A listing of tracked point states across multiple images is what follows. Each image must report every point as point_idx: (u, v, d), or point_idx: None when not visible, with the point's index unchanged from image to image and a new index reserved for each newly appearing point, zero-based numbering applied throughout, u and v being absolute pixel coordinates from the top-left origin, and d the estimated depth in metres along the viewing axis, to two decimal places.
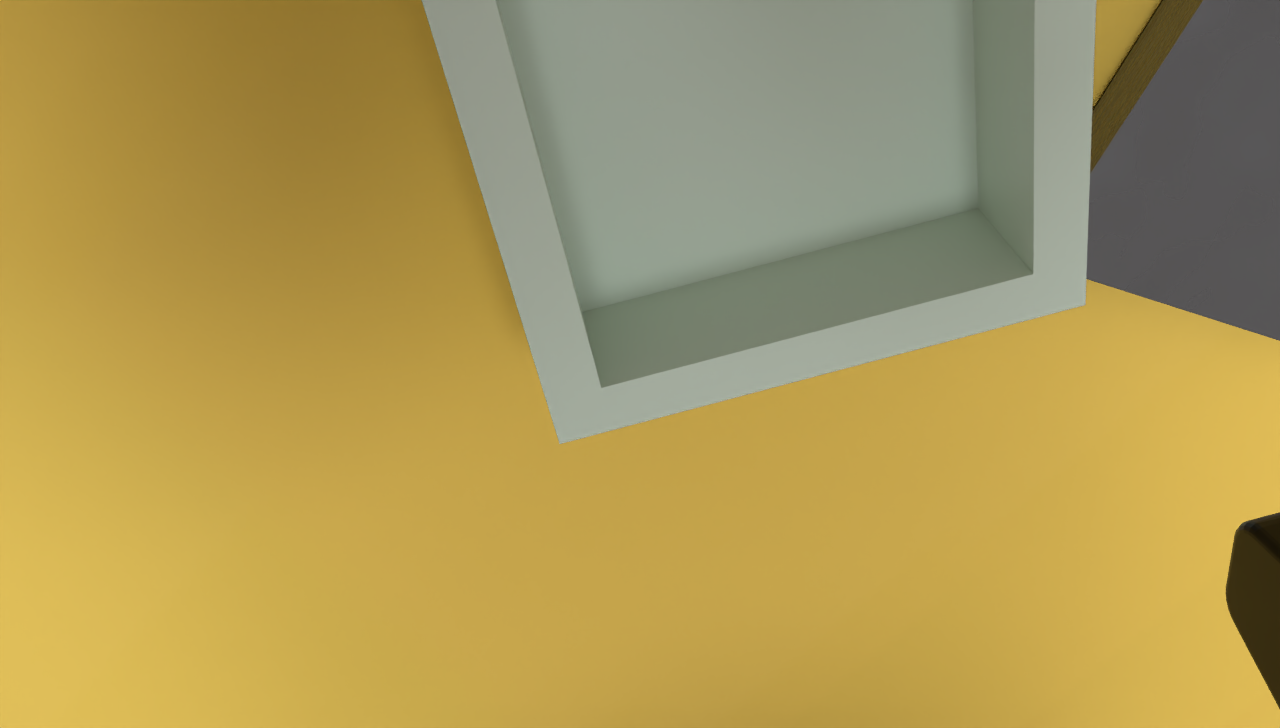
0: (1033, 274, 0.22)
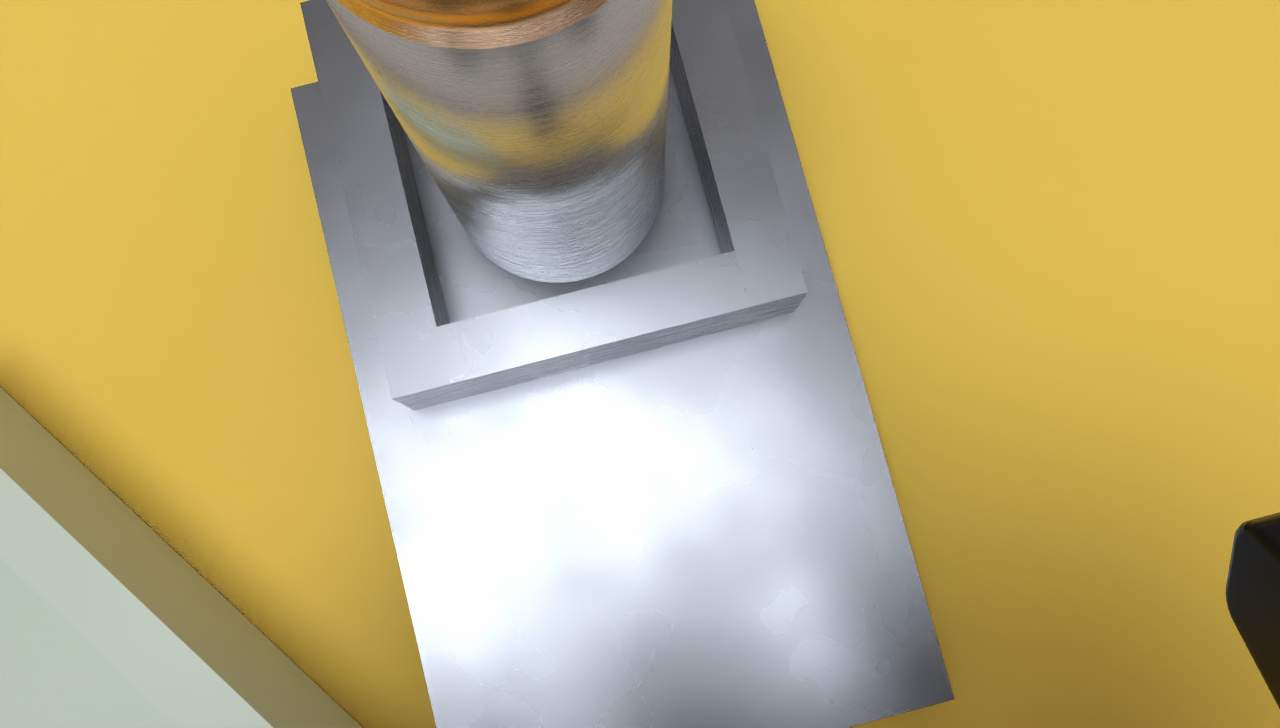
0: None
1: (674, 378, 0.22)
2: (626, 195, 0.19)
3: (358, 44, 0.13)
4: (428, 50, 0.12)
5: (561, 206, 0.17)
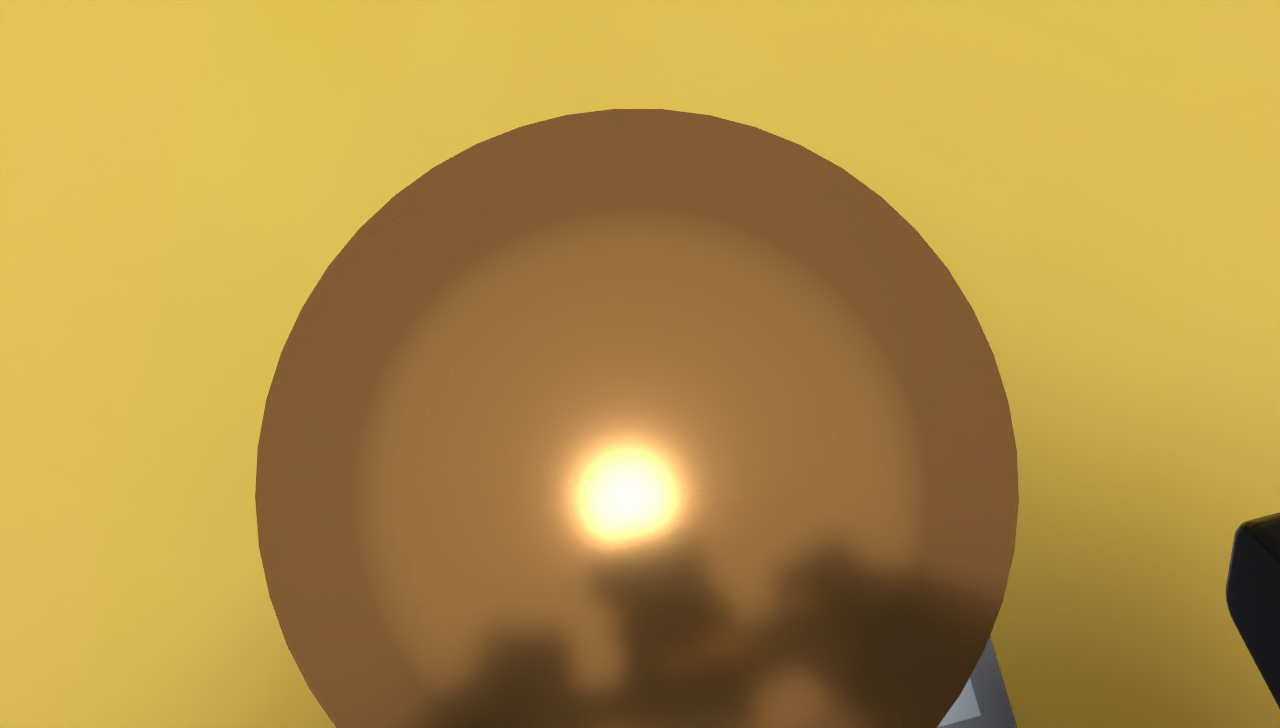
0: None
1: None
2: None
3: None
4: None
5: None
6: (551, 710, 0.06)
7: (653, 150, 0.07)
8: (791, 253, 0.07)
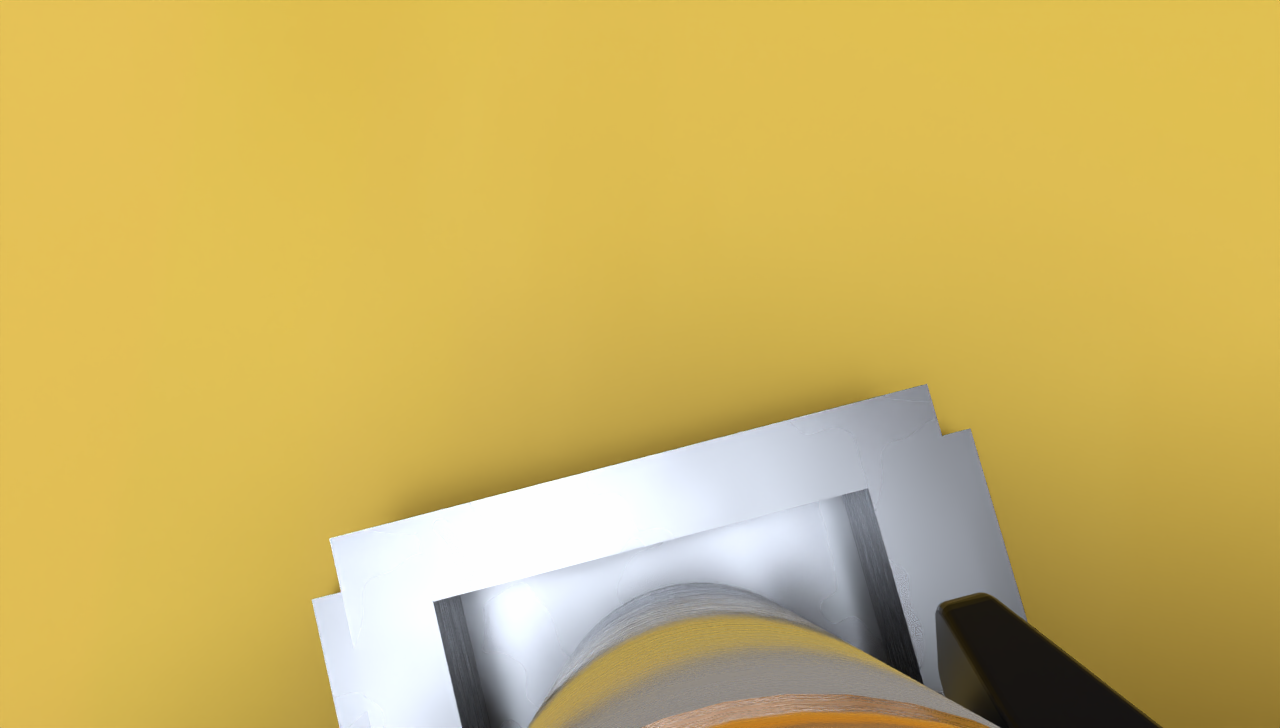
0: None
1: None
2: None
3: None
4: None
5: None
6: None
7: None
8: None
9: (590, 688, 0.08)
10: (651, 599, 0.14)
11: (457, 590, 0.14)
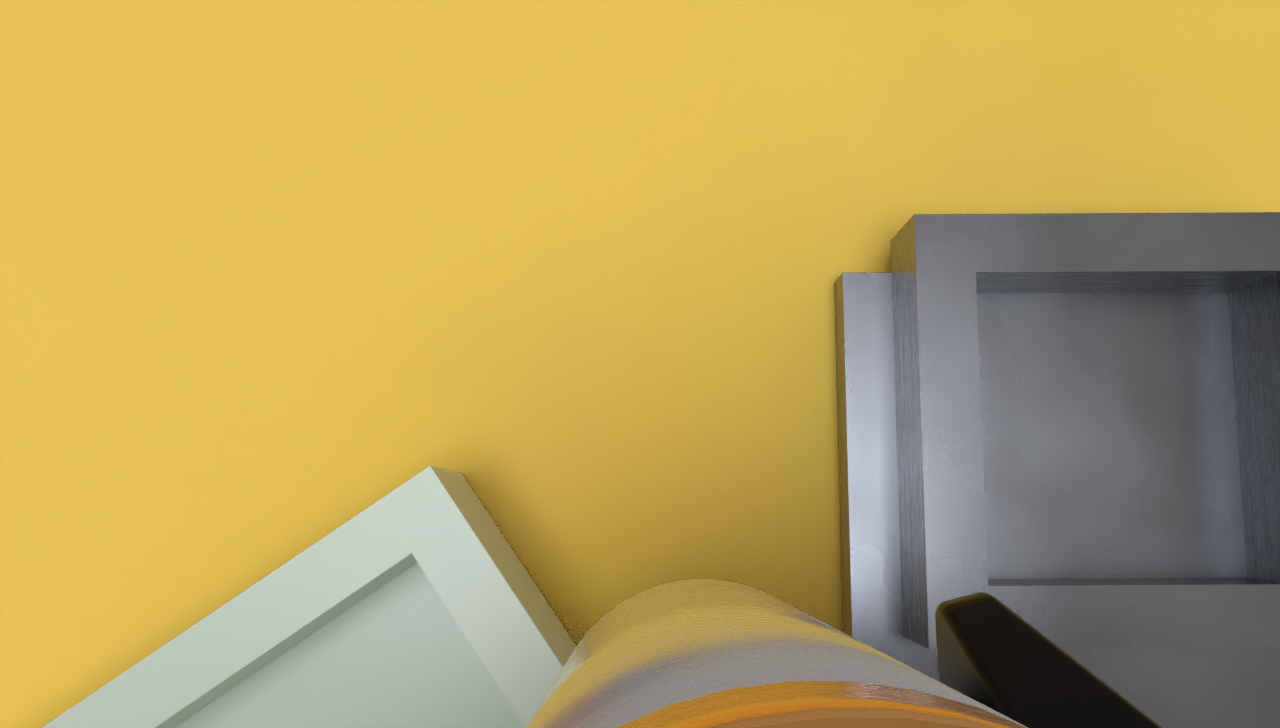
0: None
1: (1172, 670, 0.22)
2: None
3: None
4: None
5: None
6: None
7: None
8: None
9: (594, 679, 0.08)
10: (653, 594, 0.14)
11: (993, 269, 0.20)
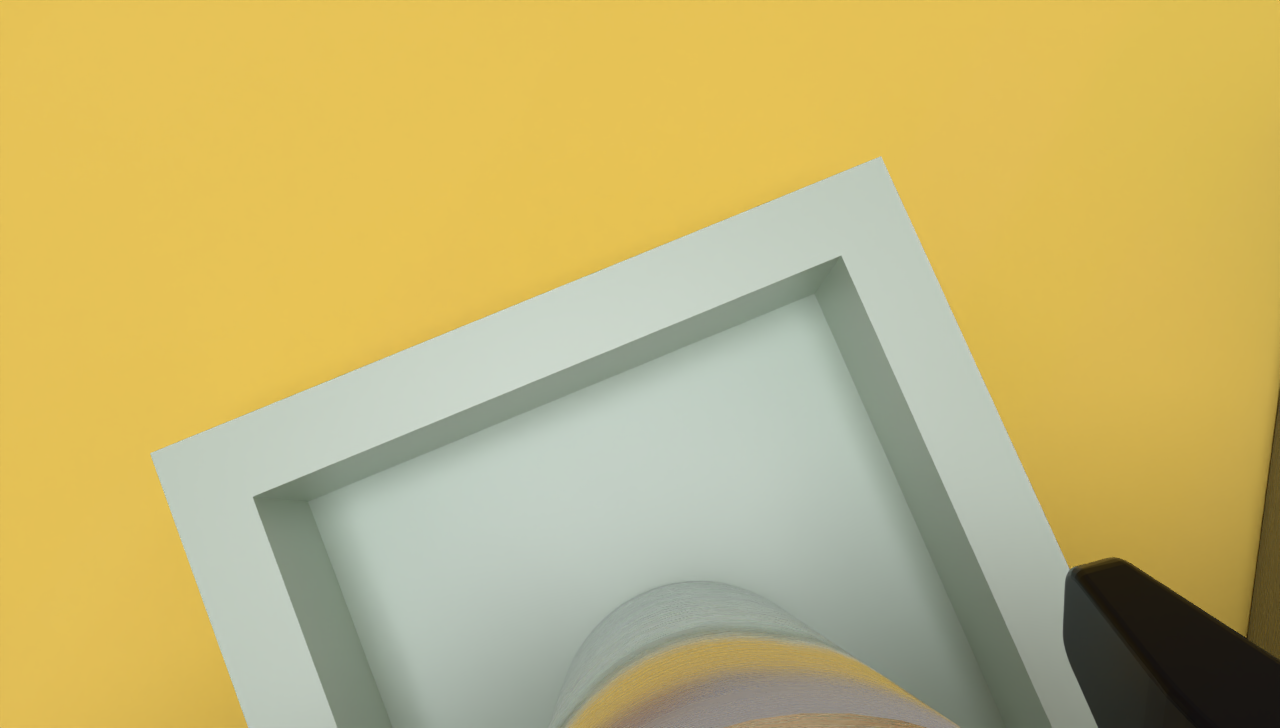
0: None
1: None
2: None
3: None
4: None
5: None
6: None
7: None
8: None
9: (624, 695, 0.09)
10: (656, 599, 0.15)
11: None
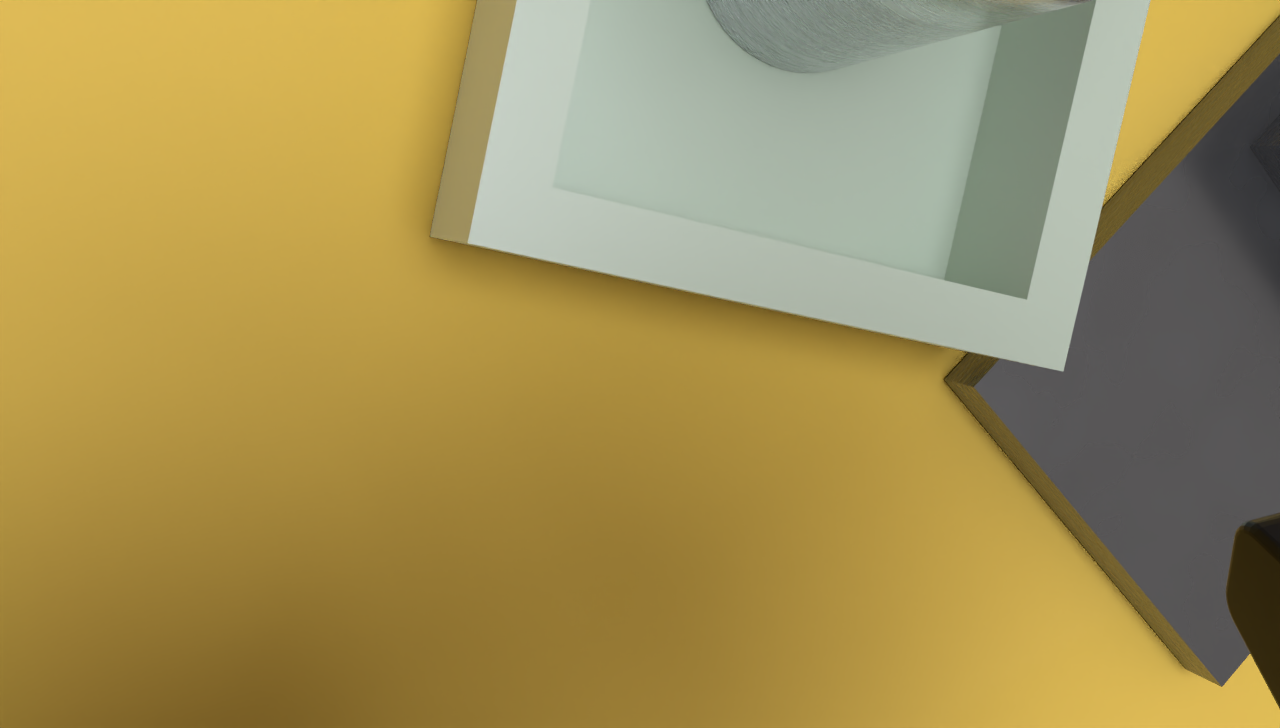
0: (1027, 301, 0.19)
1: None
2: (949, 37, 0.17)
3: None
4: None
5: (928, 8, 0.15)
6: None
7: None
8: None
9: None
10: None
11: None
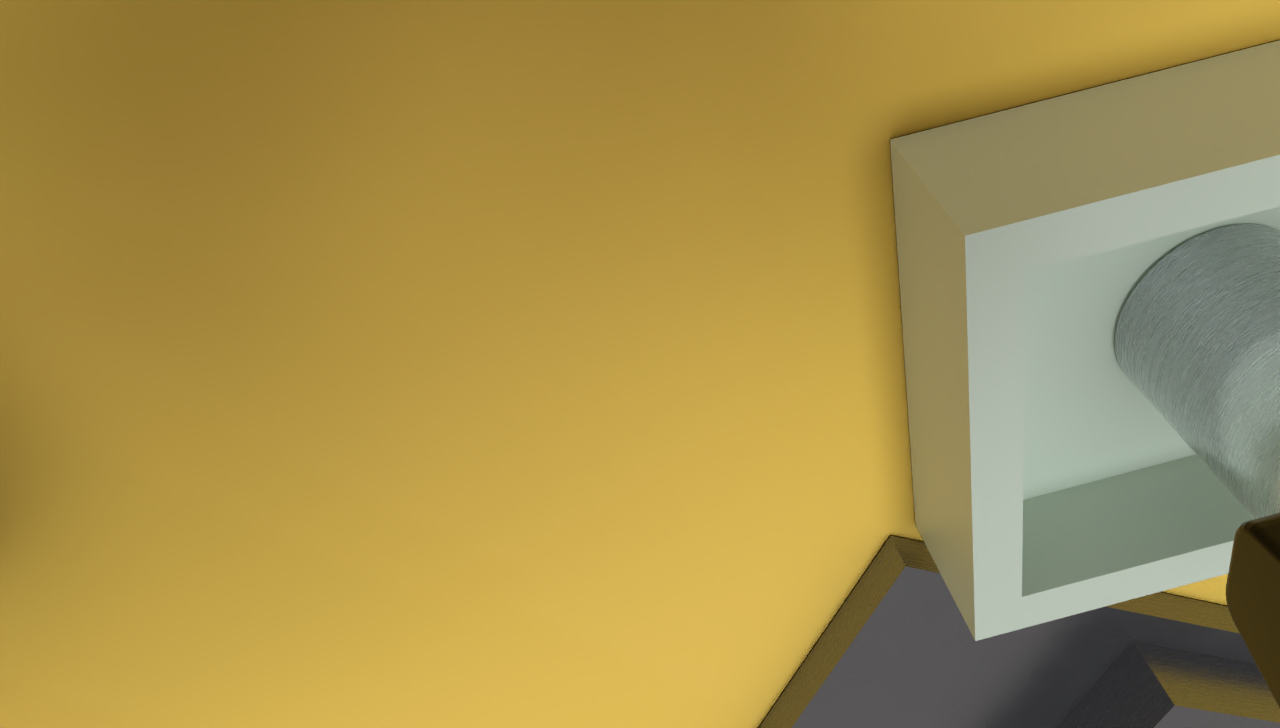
0: (1020, 597, 0.25)
1: None
2: (1234, 492, 0.21)
3: None
4: None
5: None
6: None
7: None
8: None
9: None
10: None
11: None
